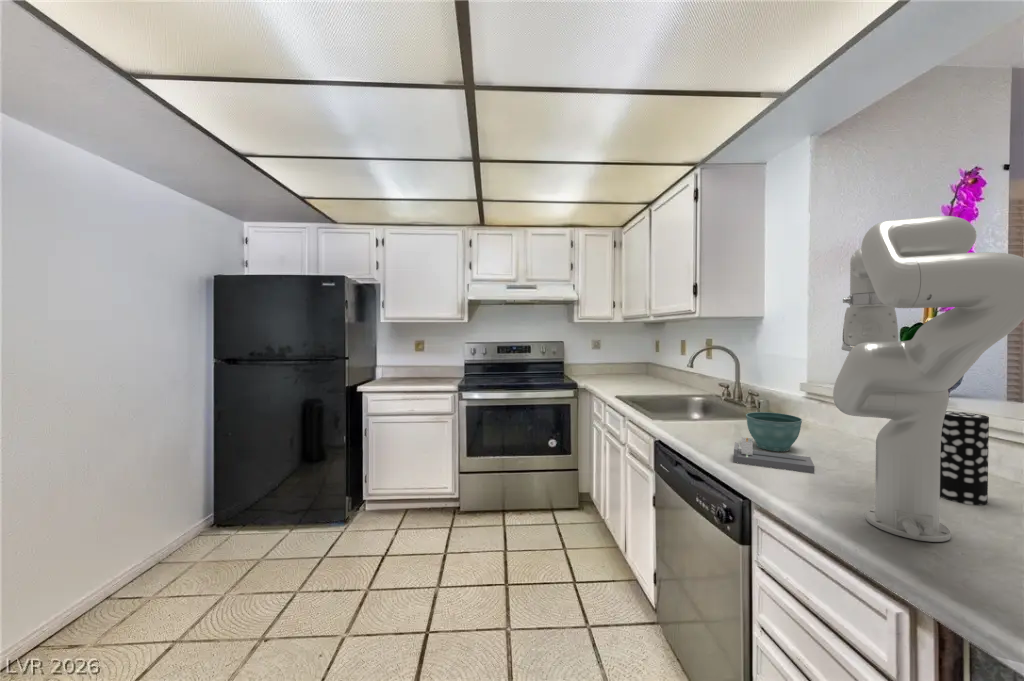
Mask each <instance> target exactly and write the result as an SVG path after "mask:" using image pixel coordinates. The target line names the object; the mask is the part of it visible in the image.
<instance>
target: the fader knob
mask: <svg viewBox="0 0 1024 681" xmlns="http://www.w3.org/2000/svg"><path fill="white" fill-rule="evenodd" d="M740 440H741V441H740V442H741V443H740V444H741V446H740V447H741V448H740V449H741V454H745V455H753V450H754V447H753V444H754V443H753V440H754V439H753V437H752V438H751V437H750V438H748V437H741V439H740Z"/></svg>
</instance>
